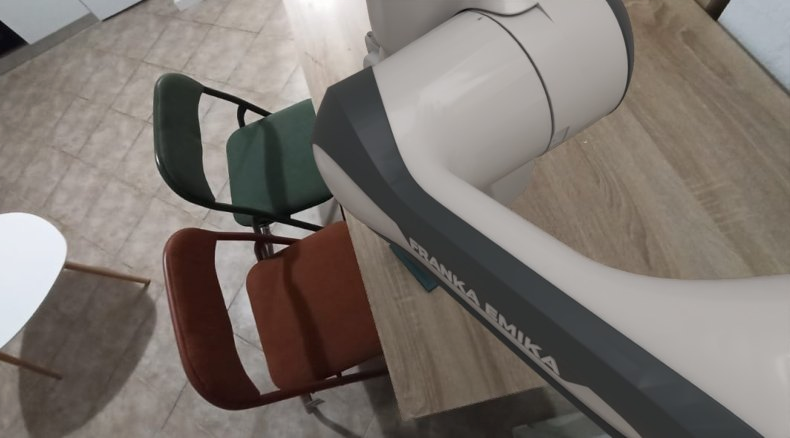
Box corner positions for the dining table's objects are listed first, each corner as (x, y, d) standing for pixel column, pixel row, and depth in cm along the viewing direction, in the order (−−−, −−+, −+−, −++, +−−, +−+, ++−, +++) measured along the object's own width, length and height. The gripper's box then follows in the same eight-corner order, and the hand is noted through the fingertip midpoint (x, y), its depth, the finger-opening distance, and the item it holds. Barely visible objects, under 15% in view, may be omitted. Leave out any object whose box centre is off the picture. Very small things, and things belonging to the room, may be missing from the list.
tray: (478, 255, 81) (478, 252, 79) (428, 293, 81) (428, 291, 79) (436, 212, 86) (436, 209, 85) (389, 247, 86) (388, 245, 85)
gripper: (337, 41, 42) (363, 125, 54) (493, 178, 32) (482, 243, 44) (389, 3, 42) (403, 95, 55) (559, 127, 33) (530, 206, 45)
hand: (439, 163), depth 49 cm, fingers open, 8 cm apart
